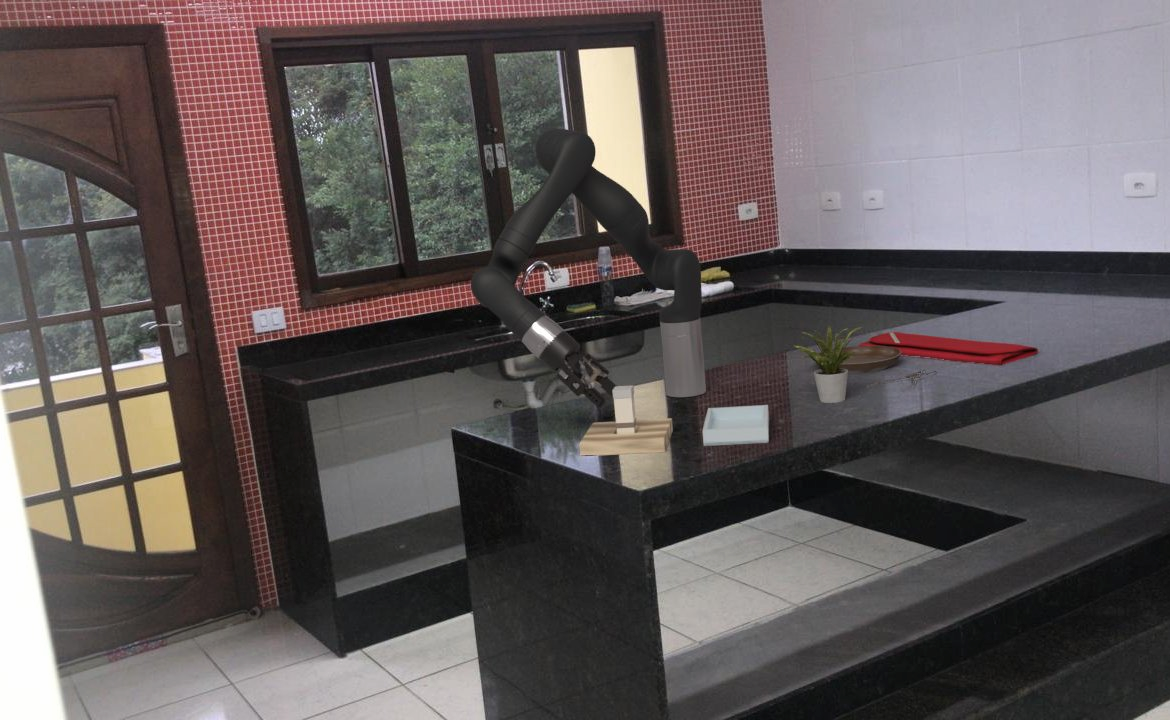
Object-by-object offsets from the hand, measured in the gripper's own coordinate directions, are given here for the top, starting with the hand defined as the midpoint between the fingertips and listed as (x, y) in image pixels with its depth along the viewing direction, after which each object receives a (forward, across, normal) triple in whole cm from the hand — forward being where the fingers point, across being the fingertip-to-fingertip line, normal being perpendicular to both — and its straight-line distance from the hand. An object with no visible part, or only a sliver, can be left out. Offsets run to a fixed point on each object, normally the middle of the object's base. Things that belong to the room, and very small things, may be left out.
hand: (611, 399), depth 207 cm
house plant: (+33, +35, -21) cm, 52 cm away
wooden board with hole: (+8, 0, +4) cm, 9 cm away
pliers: (+42, +51, -29) cm, 72 cm away
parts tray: (+22, +8, -10) cm, 25 cm away
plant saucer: (+34, +70, -21) cm, 80 cm away
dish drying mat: (+48, +83, -35) cm, 102 cm away
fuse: (+8, 0, +4) cm, 9 cm away
